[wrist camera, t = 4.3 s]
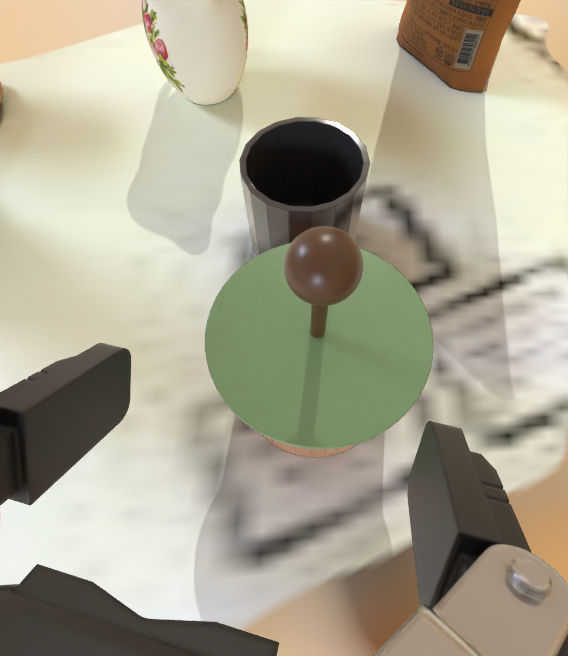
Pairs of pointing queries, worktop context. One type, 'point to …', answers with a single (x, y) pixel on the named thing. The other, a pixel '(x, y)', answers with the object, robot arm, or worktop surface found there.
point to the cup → (302, 180)
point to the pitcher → (198, 45)
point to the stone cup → (1, 93)
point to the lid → (319, 342)
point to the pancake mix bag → (456, 37)
